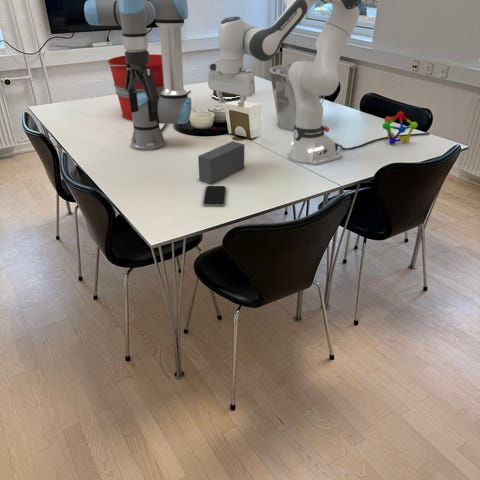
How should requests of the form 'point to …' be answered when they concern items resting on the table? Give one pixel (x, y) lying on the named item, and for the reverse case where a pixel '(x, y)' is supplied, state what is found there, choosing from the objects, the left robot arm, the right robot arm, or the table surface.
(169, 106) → the left robot arm
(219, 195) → the smartphone
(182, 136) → the table surface
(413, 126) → the educational toy
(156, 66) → the bucket
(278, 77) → the bucket
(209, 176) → the box
